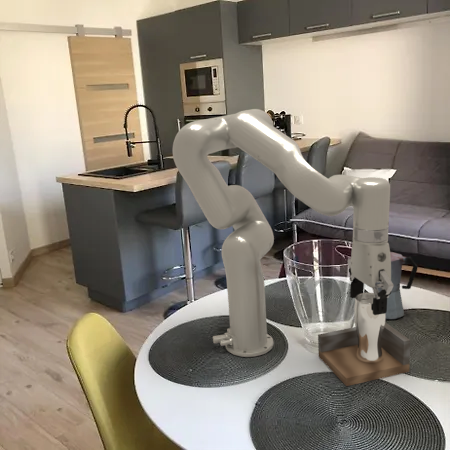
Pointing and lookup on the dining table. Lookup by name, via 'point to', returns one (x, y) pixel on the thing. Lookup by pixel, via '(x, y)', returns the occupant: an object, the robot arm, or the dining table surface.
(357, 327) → the beer glass
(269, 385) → the dining table surface
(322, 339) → the wooden corner tray
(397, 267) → the moka pot
